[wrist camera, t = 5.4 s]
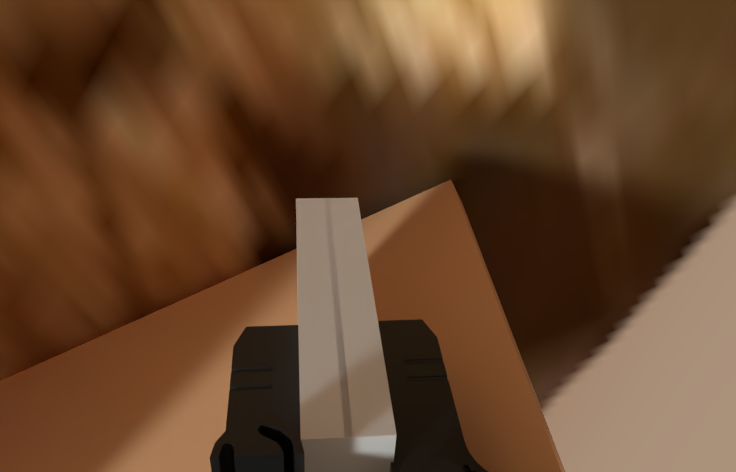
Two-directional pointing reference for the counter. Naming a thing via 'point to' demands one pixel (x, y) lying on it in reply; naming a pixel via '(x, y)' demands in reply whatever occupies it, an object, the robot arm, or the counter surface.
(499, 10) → the counter surface
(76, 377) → the side door
